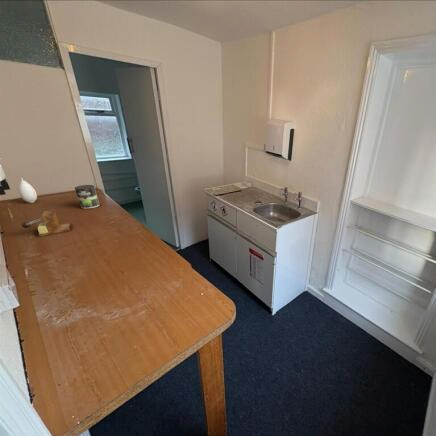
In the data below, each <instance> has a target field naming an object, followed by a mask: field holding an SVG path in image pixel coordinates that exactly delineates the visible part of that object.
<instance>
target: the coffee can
mask: <svg viewBox="0 0 436 436" xmlns="http://www.w3.org/2000/svg"><path fill="white" fill-rule="evenodd" d="M74 190H75V193H76V196H77V199H78V202H79V205H80V208H81V209H83V210H84V209H85V210H86V209H94V208H97V207H100V201H99V199H98V198H99V197H98V195H97V191H96V188H95V185H93V184H83V185H78V186H75V187H74Z"/></svg>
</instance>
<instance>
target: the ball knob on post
mask: <svg viewBox="0 0 436 436" xmlns="http://www.w3.org/2000/svg"><path fill="white" fill-rule="evenodd" d="M50 213H52V212H50ZM40 221H44V219H43V216H41V217H39V218H36V219H34V220H32V221H24V222H22V223H21V227H22V228H23V229H28V228H30V227H31V225H32V224H36V223H38V222H40Z"/></svg>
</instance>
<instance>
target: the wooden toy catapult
mask: <svg viewBox="0 0 436 436" xmlns="http://www.w3.org/2000/svg"><path fill="white" fill-rule="evenodd" d="M50 212H52V213H50ZM41 217H43V221H44V223H46V226H47V228H48V232H47V233H42V234H40V233H39V232H38V234H37V235H38V237H44V236H48V235H54V234H60V233H64V232H70V231H71V223H63V224H60V222H59V221H60V220H59V219H58V216H57V214H56V210H55V209H54V210H46V211H42V214H41Z"/></svg>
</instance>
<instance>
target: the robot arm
mask: <svg viewBox="0 0 436 436" xmlns="http://www.w3.org/2000/svg"><path fill="white" fill-rule="evenodd" d="M1 159H2V158H1V157H0V160H1ZM9 190H11V187H10V184H9V183H8V181H7V178H6V173H5V171H4V168H3V167H2V165H1V163H0V196H5V195H6V191H9Z"/></svg>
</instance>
